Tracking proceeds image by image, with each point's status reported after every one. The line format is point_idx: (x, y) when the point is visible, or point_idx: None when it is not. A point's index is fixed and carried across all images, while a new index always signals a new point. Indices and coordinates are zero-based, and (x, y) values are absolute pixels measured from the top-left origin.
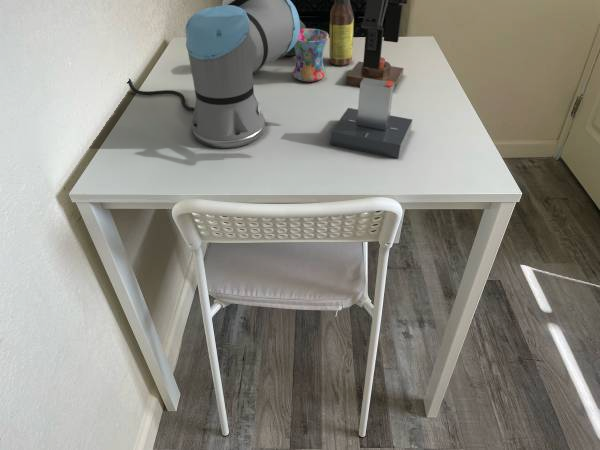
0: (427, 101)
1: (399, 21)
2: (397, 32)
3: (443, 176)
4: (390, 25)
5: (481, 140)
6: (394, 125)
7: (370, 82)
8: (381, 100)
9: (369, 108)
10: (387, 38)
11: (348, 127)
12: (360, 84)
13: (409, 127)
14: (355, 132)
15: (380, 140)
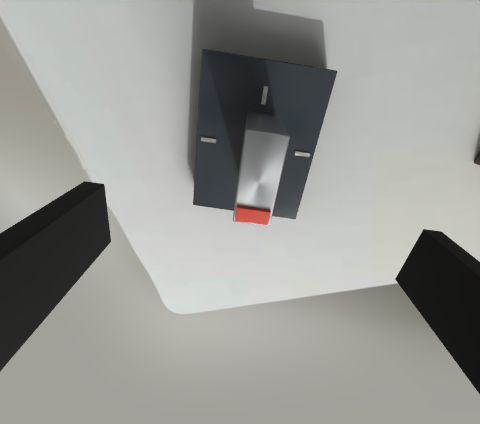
0: (417, 229)
1: (458, 360)
2: (421, 308)
3: (173, 252)
4: (463, 304)
5: (282, 295)
6: None
7: (255, 162)
8: (237, 184)
9: (242, 148)
10: (423, 251)
11: (232, 92)
12: (246, 129)
13: None
14: (214, 113)
15: (197, 169)
